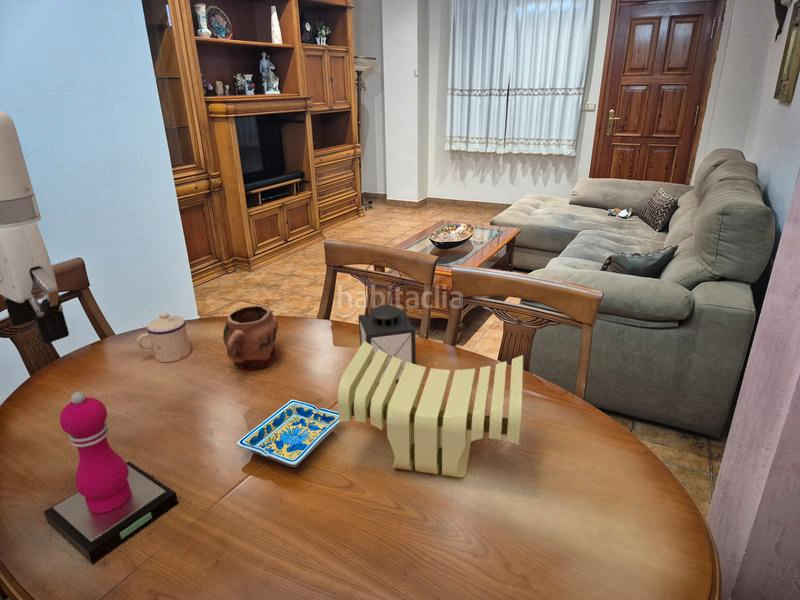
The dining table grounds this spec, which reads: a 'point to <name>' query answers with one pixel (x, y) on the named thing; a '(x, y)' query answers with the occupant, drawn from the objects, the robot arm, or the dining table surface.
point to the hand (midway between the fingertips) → (40, 330)
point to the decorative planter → (251, 337)
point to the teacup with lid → (167, 338)
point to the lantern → (388, 332)
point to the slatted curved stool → (429, 409)
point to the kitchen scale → (111, 516)
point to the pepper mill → (95, 455)
